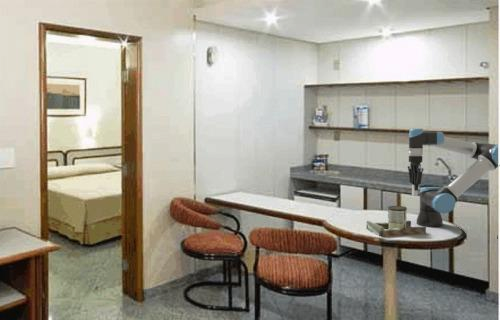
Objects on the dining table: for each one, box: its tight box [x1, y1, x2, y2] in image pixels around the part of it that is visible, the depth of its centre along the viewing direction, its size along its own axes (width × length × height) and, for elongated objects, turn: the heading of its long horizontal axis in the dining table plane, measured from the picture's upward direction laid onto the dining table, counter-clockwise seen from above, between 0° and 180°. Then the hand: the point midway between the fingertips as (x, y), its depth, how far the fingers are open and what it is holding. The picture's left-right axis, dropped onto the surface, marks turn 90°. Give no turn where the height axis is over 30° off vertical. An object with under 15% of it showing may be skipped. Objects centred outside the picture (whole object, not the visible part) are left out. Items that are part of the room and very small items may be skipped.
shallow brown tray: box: [366, 220, 427, 237], centre depth 269 cm, size 28×18×5 cm, turn 102°
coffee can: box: [387, 205, 408, 229], centre depth 269 cm, size 10×10×14 cm
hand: (414, 195), depth 270 cm, fingers closed
